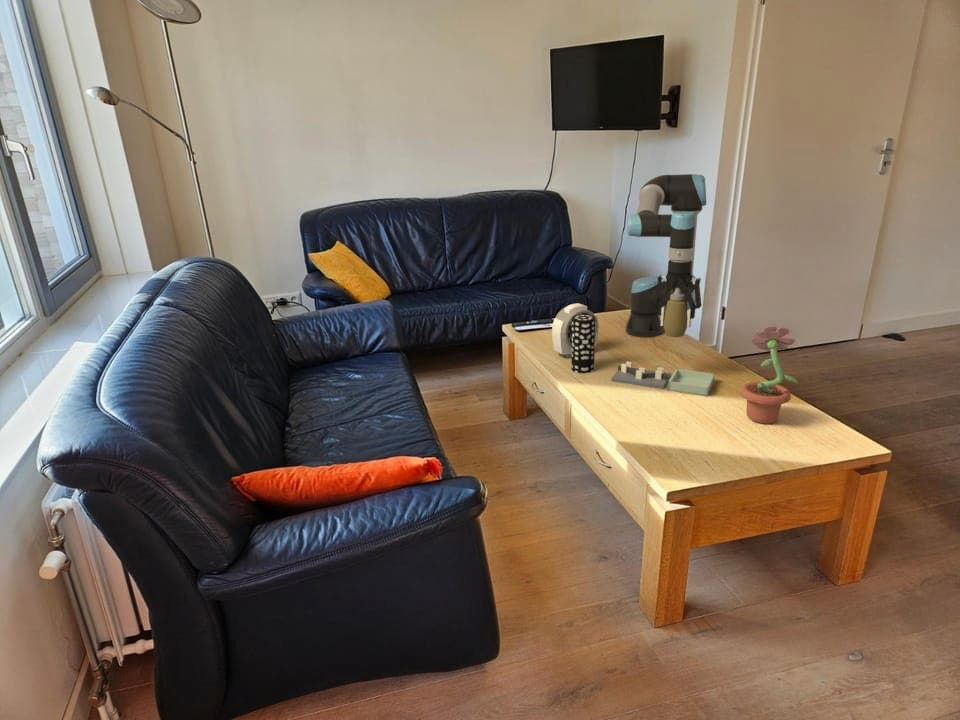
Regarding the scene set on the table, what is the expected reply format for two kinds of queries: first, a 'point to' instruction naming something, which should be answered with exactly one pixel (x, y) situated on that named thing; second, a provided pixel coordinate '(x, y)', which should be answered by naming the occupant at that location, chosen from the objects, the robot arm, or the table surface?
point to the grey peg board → (641, 376)
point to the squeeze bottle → (676, 315)
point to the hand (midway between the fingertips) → (675, 326)
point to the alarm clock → (568, 328)
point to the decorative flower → (768, 394)
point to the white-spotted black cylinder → (583, 343)
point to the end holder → (691, 382)
